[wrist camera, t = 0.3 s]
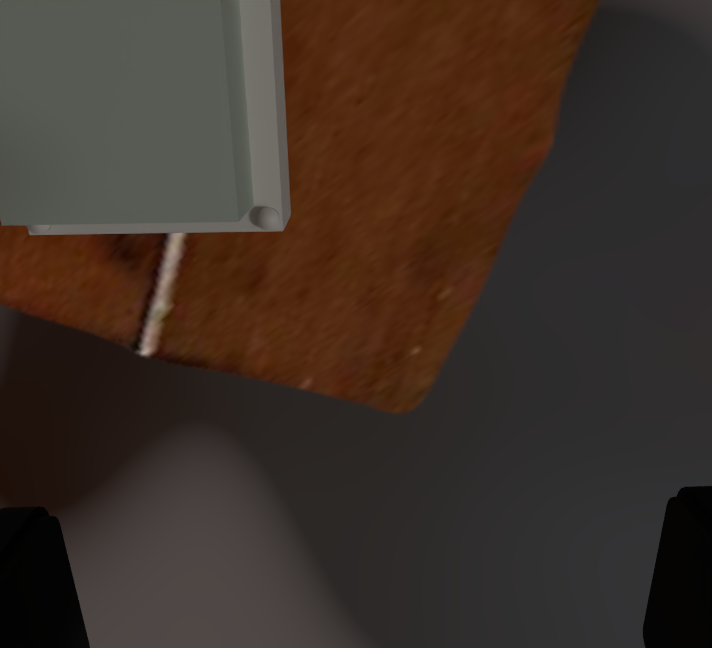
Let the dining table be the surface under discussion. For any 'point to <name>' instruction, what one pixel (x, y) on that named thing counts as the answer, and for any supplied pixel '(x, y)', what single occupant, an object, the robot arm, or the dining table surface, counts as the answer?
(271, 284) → the dining table surface
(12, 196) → the grey stacking block
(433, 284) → the dining table surface
